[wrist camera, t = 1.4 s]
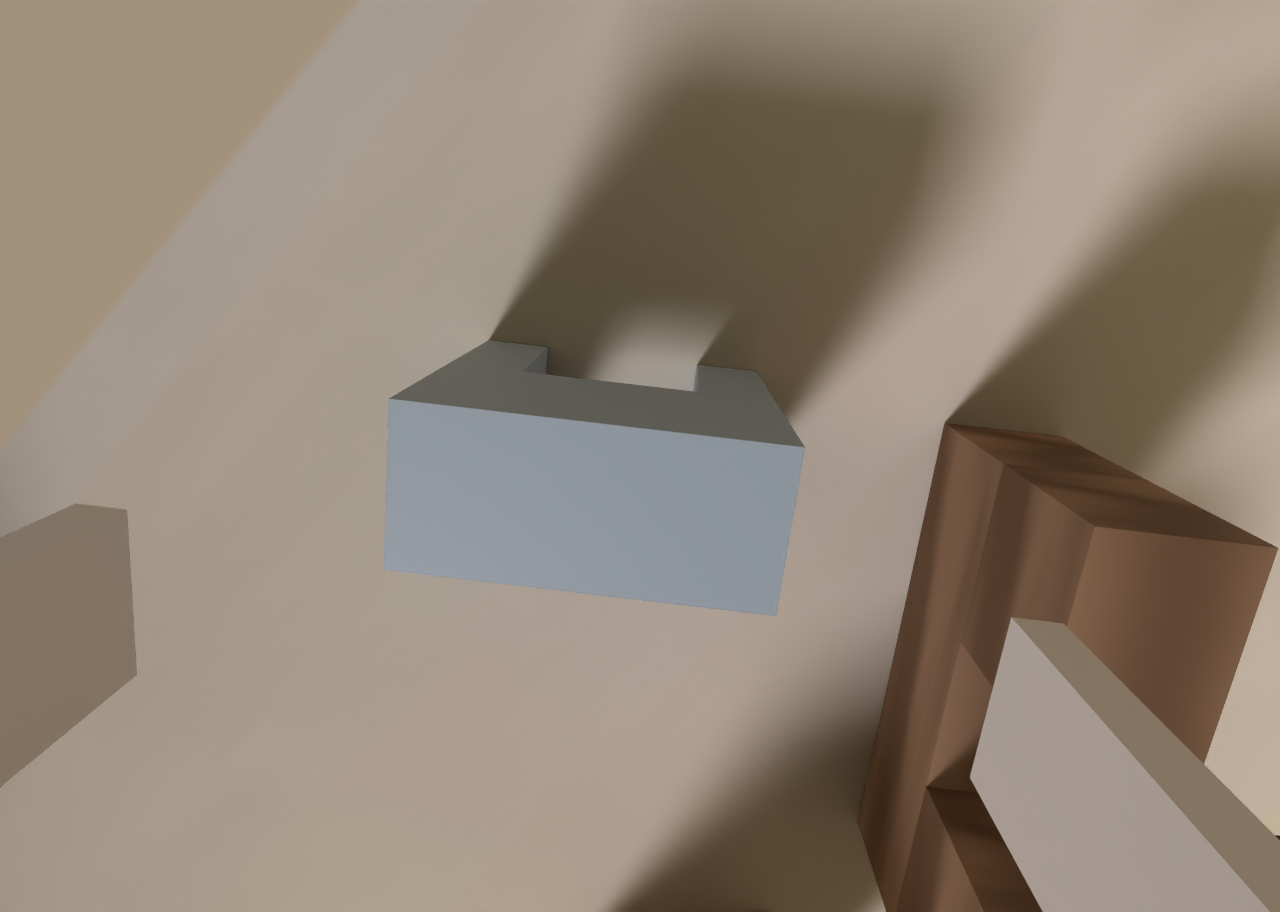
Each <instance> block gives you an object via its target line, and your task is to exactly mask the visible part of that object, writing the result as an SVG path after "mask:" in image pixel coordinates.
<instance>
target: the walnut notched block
mask: <svg viewBox="0 0 1280 912" xmlns="http://www.w3.org/2000/svg"><path fill="white" fill-rule="evenodd" d="M1277 550H1278V548H1277V547H1275V546H1273V545H1271V544H1269V543H1267V542H1266V541H1264V540H1262V539H1260V538H1258V537H1256V536H1254V535H1252V534H1250V533H1248V532H1246V531H1244V530H1242V529H1240V528H1238V527H1236V526H1234V525H1233V524H1231V523H1229V522H1227V521H1225V520H1223V519H1221V518H1219V517H1217V516H1215V515H1213V514H1211V513H1209V512H1207V511H1205V510H1203V509H1201V508H1200V507H1198V506H1196V505H1194V504H1192V503H1190V502H1188V501H1186V500H1184V499H1182V498H1180V497H1178V496H1176V495H1174V494H1172V493H1170V492H1169V491H1167V490H1165V489H1163V488H1161V487H1159V486H1157V485H1155V484H1153V483H1151V482H1149V481H1147V480H1145V479H1143V478H1141V477H1139V476H1137V475H1136V474H1134V473H1132V472H1130V471H1128V470H1126V469H1124V468H1122V467H1120V466H1118V465H1116V464H1114V463H1112V462H1110V461H1108V460H1106V459H1104V458H1103V457H1101V456H1099V455H1097V454H1095V453H1093V452H1091V451H1089V450H1087V449H1085V448H1083V447H1081V446H1079V445H1077V444H1075V443H1073V442H1072V441H1070V440H1068V439H1066V438H1064V437H1057V436H1049V435H1040V434H1032V433H1023V432H1014V431H1006V430H997V429H989V428H980V427H972V426H963V425H955V424H946V423H945V424H944V428H943V433H942V438H941V442H940V447H939V451H938V456H937V461H936V465H935V470H934V474H933V479H932V484H931V488H930V493H929V497H928V502H927V507H926V511H925V516H924V520H923V525H922V530H921V534H920V539H919V543H918V548H917V553H916V557H915V562H914V566H913V571H912V576H911V580H910V585H909V589H908V594H907V599H906V603H905V608H904V612H903V617H902V622H901V626H900V631H899V635H898V640H897V645H896V649H895V654H894V658H893V663H892V668H891V672H890V677H889V681H888V686H887V691H886V695H885V700H884V704H883V709H882V714H881V718H880V723H879V727H878V732H877V737H876V741H875V746H874V750H873V755H872V760H871V764H870V769H869V773H868V778H867V783H866V787H865V792H864V796H863V801H862V805H861V810H860V815H859V819H858V825H859V828H860V831H861V834H862V837H863V840H864V843H865V846H866V850H867V853H868V856H869V859H870V862H871V865H872V868H873V872H874V875H875V878H876V881H877V884H878V887H879V890H880V893H881V897H882V900H883V903H884V906H885V909H886V912H1043V911H1042V910H1041V908H1040V906H1039V904H1038V902H1037V900H1036V899H1035V897H1034V895H1033V893H1032V891H1031V889H1030V887H1029V886H1028V884H1027V882H1026V880H1025V878H1024V876H1023V875H1022V873H1021V871H1020V869H1019V867H1018V865H1017V864H1016V862H1015V860H1014V858H1013V856H1012V854H1011V852H1010V851H1009V849H1008V847H1007V845H1006V843H1005V841H1004V840H1003V838H1002V836H1001V834H1000V832H999V830H998V829H997V827H996V825H995V823H994V821H993V819H992V817H991V816H990V814H989V812H988V810H987V808H986V806H985V805H984V803H983V801H982V799H981V797H980V795H979V793H978V792H977V790H976V788H975V786H974V784H973V782H972V781H971V779H970V774H971V771H972V767H973V763H974V759H975V755H976V751H977V747H978V744H979V740H980V736H981V732H982V728H983V724H984V720H985V717H986V713H987V709H988V705H989V701H990V697H991V693H992V690H993V686H994V682H995V678H996V674H997V670H998V667H999V663H1000V659H1001V655H1002V651H1003V647H1004V643H1005V640H1006V636H1007V632H1008V628H1009V624H1010V620H1011V617H1014V618H1023V619H1031V620H1039V621H1047V622H1055V623H1063V624H1064V625H1065V626H1066V627H1067V628H1068V629H1069V630H1070V631H1071V632H1072V633H1073V634H1074V635H1075V636H1076V637H1077V638H1078V639H1079V640H1080V641H1081V642H1082V643H1083V644H1084V645H1085V646H1086V647H1087V648H1088V649H1089V650H1090V651H1091V652H1092V653H1093V654H1094V655H1095V656H1096V657H1097V658H1098V659H1099V660H1100V661H1101V662H1102V663H1103V664H1104V665H1105V666H1106V667H1107V668H1108V669H1109V670H1110V671H1111V672H1112V673H1113V674H1114V675H1115V676H1116V677H1117V678H1118V679H1119V680H1120V681H1121V682H1122V683H1123V684H1124V685H1125V686H1126V687H1127V688H1128V689H1129V690H1130V691H1131V692H1132V693H1133V694H1134V695H1135V696H1136V697H1137V698H1138V699H1139V700H1140V701H1141V702H1142V703H1143V704H1144V705H1145V706H1146V707H1147V708H1148V709H1149V710H1150V711H1151V712H1152V713H1153V714H1154V715H1155V716H1156V717H1157V718H1158V719H1159V720H1160V721H1161V722H1162V723H1163V724H1164V725H1165V726H1166V727H1167V728H1168V729H1169V730H1170V731H1171V732H1172V733H1173V734H1174V735H1175V736H1176V737H1177V738H1178V739H1179V740H1180V741H1181V742H1182V743H1183V744H1184V745H1185V746H1186V747H1187V748H1188V749H1189V750H1190V751H1191V752H1192V753H1193V754H1194V755H1195V756H1196V757H1197V758H1198V759H1199V760H1200V761H1201V762H1202V763H1203V764H1204V762H1205V759H1206V756H1207V753H1208V751H1209V748H1210V745H1211V742H1212V739H1213V736H1214V733H1215V730H1216V727H1217V724H1218V722H1219V719H1220V716H1221V713H1222V710H1223V707H1224V704H1225V701H1226V698H1227V695H1228V692H1229V690H1230V687H1231V684H1232V681H1233V678H1234V675H1235V672H1236V669H1237V666H1238V663H1239V661H1240V658H1241V655H1242V652H1243V649H1244V646H1245V643H1246V640H1247V637H1248V634H1249V632H1250V629H1251V626H1252V623H1253V620H1254V617H1255V614H1256V611H1257V608H1258V605H1259V602H1260V600H1261V597H1262V594H1263V591H1264V588H1265V585H1266V582H1267V579H1268V576H1269V573H1270V571H1271V568H1272V565H1273V562H1274V559H1275V556H1276V553H1277Z"/></svg>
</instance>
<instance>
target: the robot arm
mask: <svg viewBox="0 0 1280 912" xmlns="http://www.w3.org/2000/svg"><path fill="white" fill-rule="evenodd" d="M136 675H137V667H136V651H135V634H134V618H133V601H132V584H131V568H130V551H129V534H128V518H127V510H125V509H116V508H108V507H100V506H92V505H84V504H74V505H72V506H70V507H67V508H65V509H63V510H61V511H58V512H56V513H54V514H52V515H50V516H47V517H45V518H43V519H41V520H39V521H36V522H34V523H32V524H30V525H28V526H25V527H23V528H21V529H19V530H16V531H14V532H12V533H10V534H8V535H5V536H3V537H1V538H0V787H1V786H2V785H3V784H4V783H6V782H7V781H8V780H9V779H11V778H12V777H13V776H14V775H15V774H17V773H18V772H19V771H20V770H22V769H23V768H24V767H25V766H26V765H28V764H29V763H30V762H31V761H32V760H34V759H35V758H36V757H37V756H39V755H40V754H41V753H42V752H43V751H45V750H46V749H47V748H48V747H50V746H51V745H52V744H53V743H54V742H56V741H57V740H58V739H59V738H60V737H62V736H63V735H64V734H65V733H67V732H68V731H69V730H70V729H71V728H73V727H74V726H75V725H76V724H78V723H79V722H80V721H81V720H82V719H84V718H85V717H86V716H87V715H88V714H90V713H91V712H92V711H93V710H95V709H96V708H97V707H98V706H99V705H101V704H102V703H103V702H104V701H105V700H107V699H108V698H109V697H110V696H112V695H113V694H114V693H115V692H116V691H118V690H119V689H120V688H121V687H123V686H124V685H125V684H126V683H127V682H129V681H130V680H131V679H132V678H133V677H135V676H136ZM970 779H971V781H972V782H973V784H974V786H975V788H976V790H977V792H978V793H979V795H980V797H981V799H982V801H983V803H984V805H985V806H986V808H987V810H988V812H989V814H990V816H991V817H992V819H993V821H994V823H995V825H996V827H997V829H998V830H999V832H1000V834H1001V836H1002V838H1003V840H1004V841H1005V843H1006V845H1007V847H1008V849H1009V851H1010V852H1011V854H1012V856H1013V858H1014V860H1015V862H1016V864H1017V865H1018V867H1019V869H1020V871H1021V873H1022V875H1023V876H1024V878H1025V880H1026V882H1027V884H1028V886H1029V887H1030V889H1031V891H1032V893H1033V895H1034V897H1035V899H1036V900H1037V902H1038V904H1039V906H1040V908H1041V910H1042V911H1043V912H1280V836H1277V835H1274V834H1273V833H1272V832H1271V831H1270V830H1269V829H1268V828H1267V827H1266V826H1265V825H1264V824H1263V823H1262V822H1261V821H1260V820H1259V819H1258V818H1257V817H1256V816H1255V815H1254V814H1253V813H1252V812H1251V811H1250V810H1249V809H1248V808H1247V807H1246V806H1245V805H1244V804H1243V803H1242V802H1241V801H1240V800H1239V799H1238V798H1237V797H1236V796H1235V795H1234V794H1233V793H1232V792H1231V791H1230V790H1229V789H1228V788H1227V787H1226V786H1225V785H1224V784H1223V783H1222V782H1221V781H1220V780H1219V779H1218V778H1217V777H1216V776H1215V775H1214V774H1213V773H1212V772H1211V771H1210V770H1209V769H1208V768H1207V767H1206V766H1205V765H1204V764H1203V763H1202V762H1201V761H1200V760H1199V759H1198V758H1197V757H1196V756H1195V755H1194V754H1193V753H1192V752H1191V751H1190V750H1189V749H1188V748H1187V747H1186V746H1185V745H1184V744H1183V743H1182V742H1181V741H1180V740H1179V739H1178V738H1177V737H1176V736H1175V735H1174V734H1173V733H1172V732H1171V731H1170V730H1169V729H1168V728H1167V727H1166V726H1165V725H1164V724H1163V723H1162V722H1161V721H1160V720H1159V719H1158V718H1157V717H1156V716H1155V715H1154V714H1153V713H1152V712H1151V711H1150V710H1149V709H1148V708H1147V707H1146V706H1145V705H1144V704H1143V703H1142V702H1141V701H1140V700H1139V699H1138V698H1137V697H1136V696H1135V695H1134V694H1133V693H1132V692H1131V691H1130V690H1129V689H1128V688H1127V687H1126V686H1125V685H1124V684H1123V683H1122V682H1121V681H1120V680H1119V679H1118V678H1117V677H1116V676H1115V675H1114V674H1113V673H1112V672H1111V671H1110V670H1109V669H1108V668H1107V667H1106V666H1105V665H1104V664H1103V663H1102V662H1101V661H1100V660H1099V659H1098V658H1097V657H1096V656H1095V655H1094V654H1093V653H1092V652H1091V651H1090V650H1089V649H1088V648H1087V647H1086V646H1085V645H1084V644H1083V643H1082V642H1081V641H1080V640H1079V639H1078V638H1077V637H1076V636H1075V635H1074V634H1073V633H1072V632H1071V631H1070V630H1069V629H1068V628H1067V627H1066V626H1065V625H1064V624H1063V623H1055V622H1047V621H1039V620H1031V619H1023V618H1014V617H1011V620H1010V624H1009V628H1008V632H1007V636H1006V640H1005V643H1004V647H1003V651H1002V655H1001V659H1000V663H999V667H998V670H997V674H996V678H995V682H994V686H993V690H992V693H991V697H990V701H989V705H988V709H987V713H986V717H985V720H984V724H983V728H982V732H981V736H980V740H979V744H978V747H977V751H976V755H975V759H974V763H973V767H972V771H971V774H970Z"/></svg>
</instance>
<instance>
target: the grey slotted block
mask: <svg viewBox="0 0 1280 912" xmlns="http://www.w3.org/2000/svg"><path fill="white" fill-rule="evenodd" d="M547 355H548V347H543V346H534V345H525V344H517V343H508V342H500V341H491V340H488V341H486V342H485V343H483V344H481V345H480V346H478V347H476V348H475V349H473V350H471V351H469V352H468V353H466V354H464V355H463V356H461V357H459V358H457V359H456V360H454V361H452V362H451V363H449V364H447V365H446V366H444V367H442V368H440V369H439V370H437V371H435V372H434V373H432V374H430V375H428V376H427V377H425V378H423V379H422V380H420V381H418V382H416V383H415V384H413V385H411V386H410V387H408V388H406V389H405V390H403V391H401V392H399V393H398V394H396V395H394V396H393V397H391V398H389V409H388V443H387V477H386V510H385V544H384V570H389V571H397V572H406V573H414V574H423V575H431V576H440V577H448V578H457V579H465V580H473V581H482V582H490V583H499V584H507V585H516V586H524V587H533V588H541V589H550V590H558V591H567V592H575V593H584V594H592V595H601V596H609V597H617V598H626V599H634V600H643V601H651V602H660V603H668V604H677V605H685V606H694V607H702V608H711V609H719V610H728V611H736V612H745V613H753V614H761V615H770V616H776V612H777V607H778V601H779V595H780V589H781V583H782V577H783V572H784V566H785V560H786V554H787V548H788V543H789V537H790V531H791V525H792V519H793V513H794V508H795V502H796V496H797V490H798V484H799V479H800V473H801V467H802V461H803V455H804V449H805V447H804V445H803V444H802V442H801V441H800V439H799V437H798V436H797V434H796V433H795V431H794V430H793V428H792V426H791V425H790V423H789V422H788V420H787V418H786V417H785V415H784V414H783V412H782V411H781V409H780V407H779V406H778V404H777V403H776V401H775V400H774V398H773V396H772V395H771V393H770V392H769V390H768V389H767V387H766V385H765V384H764V382H763V381H762V379H761V377H760V376H759V374H758V373H757V371H748V370H740V369H731V368H723V367H714V366H705V365H697V369H696V377H695V384H694V392H692V391H684V390H675V389H667V388H658V387H650V386H641V385H632V384H624V383H615V382H607V381H598V380H590V379H581V378H573V377H564V376H555V375H547V374H546V368H547Z"/></svg>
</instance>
